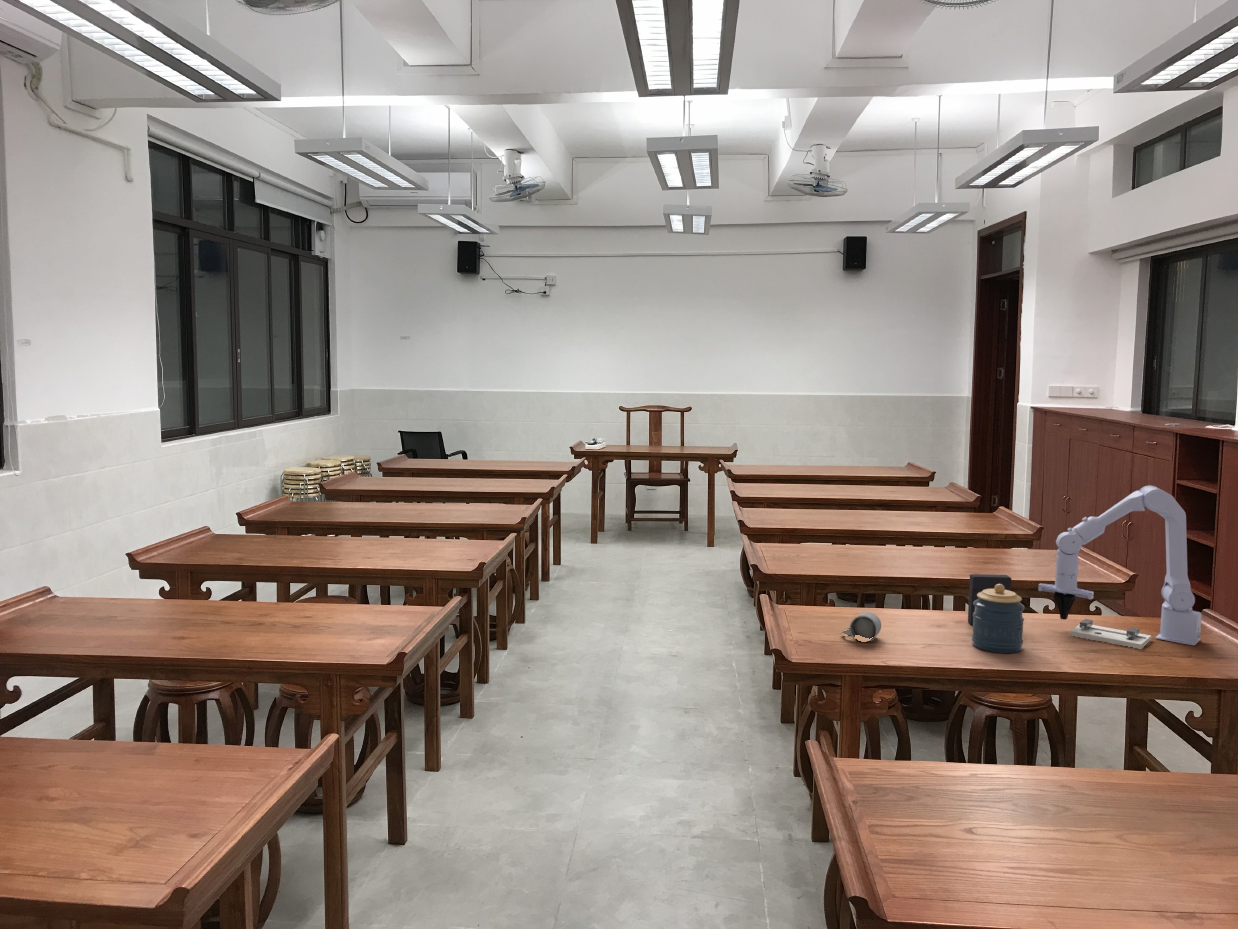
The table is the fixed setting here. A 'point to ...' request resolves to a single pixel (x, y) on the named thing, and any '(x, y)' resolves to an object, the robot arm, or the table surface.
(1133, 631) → the fixed point
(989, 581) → the calculator
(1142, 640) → the board
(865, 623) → the ceramic mug
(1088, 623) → the block
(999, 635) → the canister
